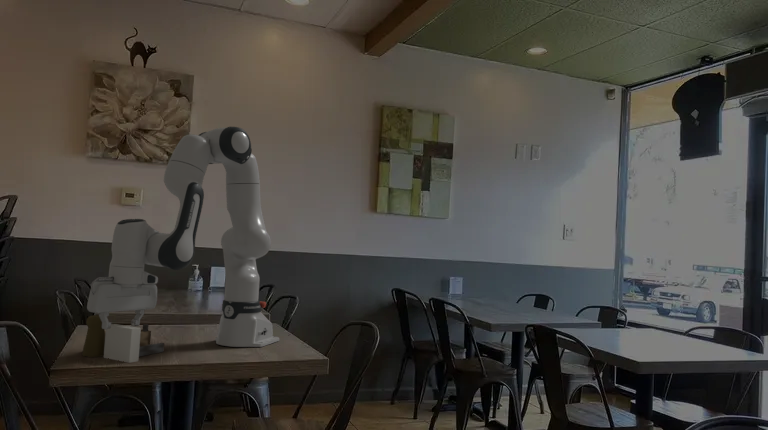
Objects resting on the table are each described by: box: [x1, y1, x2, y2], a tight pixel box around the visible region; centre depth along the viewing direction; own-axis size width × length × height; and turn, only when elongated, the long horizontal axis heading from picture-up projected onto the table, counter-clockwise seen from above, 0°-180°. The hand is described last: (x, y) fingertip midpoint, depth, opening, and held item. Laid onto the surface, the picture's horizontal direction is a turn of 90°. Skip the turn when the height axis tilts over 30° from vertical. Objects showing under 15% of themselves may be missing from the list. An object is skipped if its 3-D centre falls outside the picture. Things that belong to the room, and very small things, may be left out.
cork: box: [81, 314, 106, 358], centre depth 161 cm, size 6×6×11 cm
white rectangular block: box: [103, 323, 142, 364], centre depth 158 cm, size 10×4×9 cm, turn 65°
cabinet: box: [105, 323, 165, 357], centre depth 168 cm, size 12×15×8 cm
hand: (120, 327), depth 157 cm, fingers open, 8 cm apart
